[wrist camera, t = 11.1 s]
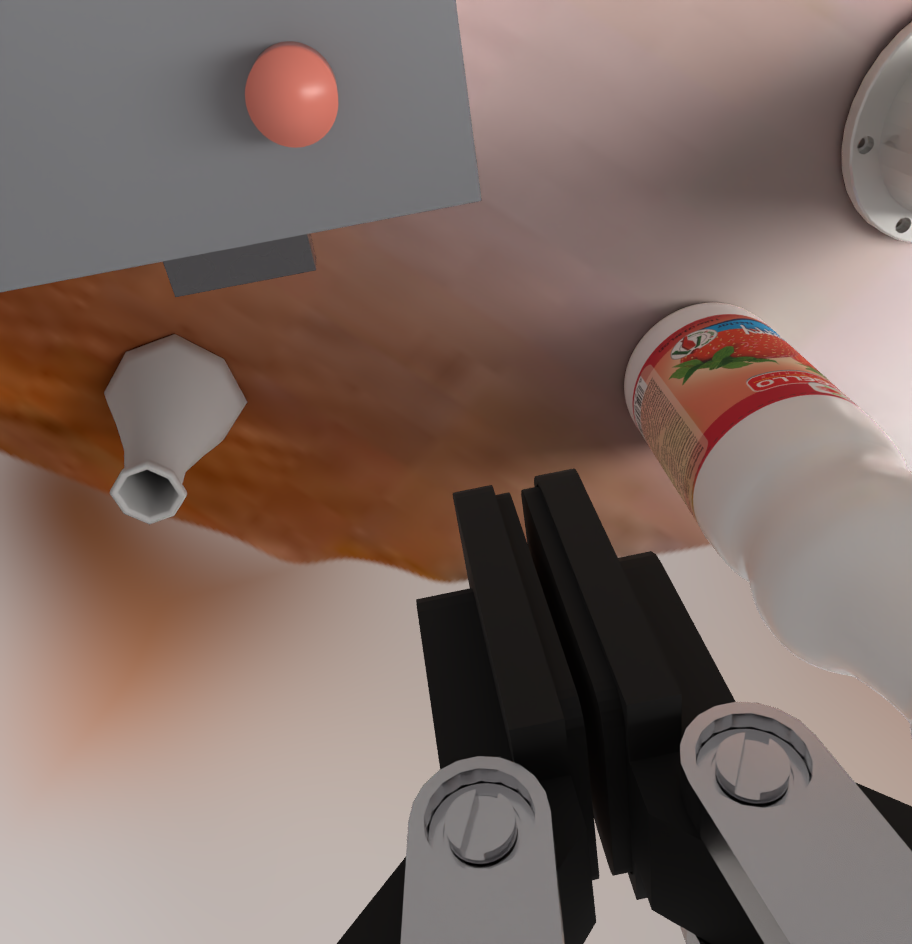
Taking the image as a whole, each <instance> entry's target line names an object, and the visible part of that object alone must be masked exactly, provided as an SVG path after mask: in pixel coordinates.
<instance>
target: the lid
mask: <svg viewBox="0 0 912 944" xmlns="http://www.w3.org/2000/svg"><path fill="white" fill-rule="evenodd" d="M478 201H482V200H481V192H480V184H479V177H478V169H477V161H476V154H475V146H474V138H473V131H472V123H471V115H470V107H469V100H468V92H467V84H466V77H465V69H464V61H463V54H462V46H461V38H460V30H459V23H458V15H457V7H456V0H0V292H5V291H10V290H15V289H20V288H26V287H31V286H36V285H42V284H47V283H52V282H57V281H63V280H68V279H73V278H78V277H84V276H89V275H94V274H99V273H105V272H110V271H115V270H120V269H126V268H131V267H136V266H141V265H147V264H152V263H157V262H163V261H168V260H173V259H178V258H184V257H189V256H194V255H199V254H205V253H210V252H215V251H220V250H226V249H231V248H236V247H241V246H247V245H252V244H257V243H262V242H268V241H273V240H278V239H284V238H289V237H294V236H299V235H305V234H310V233H315V232H320V231H326V230H331V229H336V228H341V227H347V226H352V225H357V224H362V223H368V222H373V221H378V220H383V219H389V218H394V217H399V216H405V215H410V214H415V213H420V212H426V211H431V210H436V209H441V208H447V207H452V206H457V205H462V204H468V203H473V202H478Z"/></svg>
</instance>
